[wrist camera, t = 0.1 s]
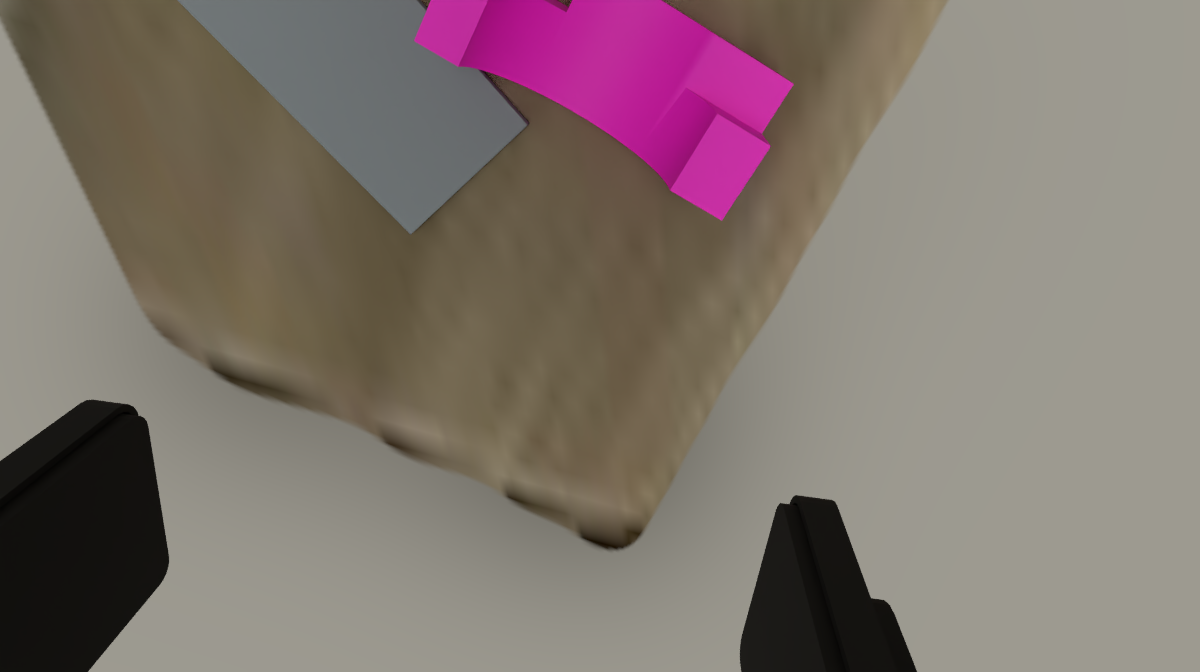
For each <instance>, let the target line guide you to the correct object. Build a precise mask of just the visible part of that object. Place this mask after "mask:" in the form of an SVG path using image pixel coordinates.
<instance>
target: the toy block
mask: <svg viewBox="0 0 1200 672" xmlns="http://www.w3.org/2000/svg"><path fill="white" fill-rule="evenodd" d="M414 41H415V42H416V43H418V44H420V45H422V46H423V47H425V48H427V49H428V50H430V51H432V52H434V53H435V54H437V55H439V56H440V57H442V58H444V59H446V60H447V61H449V62H451V63H452V64H454V65H456V66H458V67H470V68H475V69H479V70H483V71H486V72H490V73H493V74H495V75H498V76H501V77H504V78H506V79H509V80H511V81H513V82H516V83H518V84H520V85H523V86H525V87H527V88H529V89H531V90H533V91H535V92H537V93H540V94H542V95H544V96H545V97H547V98H549V99H551V100H553V101H555V102H557V103H559V104H561V105H562V106H564V107H566V108H568V109H570V110H571V111H573V112H575V113H576V114H578V115H580V116H582V117H583V118H585V119H586V120H588V121H590V122H591V123H593V124H594V125H596V126H598V127H599V128H601V129H602V130H604V131H605V132H607V133H608V134H610V135H611V136H613V137H614V138H615V139H617V140H618V141H620V142H621V143H622V144H624V145H625V146H626V147H628V148H629V149H630V150H632V151H633V152H634V153H636V154H637V155H638V156H639V157H640V158H642V159H643V160H644V161H645V162H646V163H647V164H649V165H650V166H651V167H652V168H653V169H654V170H655V171H656V172H657V173H658V174H659V175H660V176H661V178H662V179H663V180H664V181H665V183H666V184H667V185H668V187H669V189H670V191H672V192H674V193H675V194H677V195H679V196H681V197H682V198H684V199H686V200H687V201H689V202H691V203H693V204H694V205H696V206H698V207H700V208H701V209H703V210H705V211H706V212H708V213H710V214H712V215H713V216H715V217H717V218H718V219H720V220H722V219H723V218H724V216H725V215H726V213H727V212H728V210H729V209H730V207H731V206H732V204H733V203H734V201H735V200H736V198H737V197H738V195H739V194H740V192H741V191H742V189H743V188H744V186H745V185H746V183H747V182H748V180H749V179H750V177H751V176H752V174H753V173H754V171H755V170H756V168H757V167H758V165H759V163H760V162H761V160H762V159H763V157H764V156H765V154H766V153H767V151H768V150H769V148H770V147H771V146H770V144H769V143H768V142H767V140H766V139H765V138H764V136H763V135H762V132H763V131H764V129H765V128H766V126H767V125H768V123H769V121H770V120H771V118H772V117H773V115H774V114H775V112H776V111H777V109H778V108H779V106H780V105H781V103H782V101H783V100H784V98H785V97H786V95H787V94H788V92H789V91H790V89H791V88H792V86H793V85H794V84H793V83H792V82H790V81H789V80H787V79H786V78H784V77H783V76H781V75H780V74H778V73H777V72H775V71H774V70H772V69H770V68H769V67H767V66H766V65H764V64H762V63H761V62H759V61H758V60H756V59H754V58H753V57H751V56H750V55H748V54H746V53H745V52H743V51H742V50H740V49H739V48H737V47H735V46H734V45H732V44H731V43H729V42H727V41H726V40H724V39H723V38H721V37H719V36H718V35H716V34H715V33H713V32H711V31H710V30H708V29H707V28H705V27H704V26H702V25H700V24H699V23H697V22H696V21H694V20H692V19H691V18H689V17H688V16H686V15H684V14H683V13H681V12H680V11H678V10H676V9H675V8H673V7H672V6H670V5H668V4H667V3H665V2H664V1H662V0H572V2H571V4H570V6H569V7H567V6H566V5H564V4H562V3H561V2H559V1H557V0H431V1H430V4H429V6H428V8H427V11H426V13H425V16H424V18H423V20H422V23H421V25H420V27H419V30H418V32H417V35H416V37H415V39H414Z"/></svg>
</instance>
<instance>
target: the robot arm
mask: <svg viewBox="0 0 1200 672" xmlns="http://www.w3.org/2000/svg"><path fill="white" fill-rule="evenodd" d="M168 564H169V554H168V548H167V542H166V535H165V529H164V523H163V517H162V510H161V504H160V498H159V491H158V485H157V479H156V472H155V466H154V460H153V454H152V447H151V442H150V435H149V428H148V424H147V421H146V420H145V419H144V418H143V417H141V416H138V412H137V411H136V409H135V408H134V407H133V406H131V405H128V404H121V403H113V402H106V401H98V400H86V401H84V402H83V403H80V404H79V405H77V406H76V407H75V408H73V409H72V410H71V411H69V412H68V413H67V414H65V415H64V416H62V417H61V418H59V419H58V420H57V421H55V422H54V423H52V424H51V425H50V426H48V427H47V428H46V429H44V430H43V431H41V432H40V433H39V434H37V435H36V436H34V437H33V438H32V439H30V440H29V441H27V442H26V443H25V444H23V445H22V446H21V447H19V448H18V449H16V450H15V451H14V452H12V453H11V454H9V455H8V456H7V457H5V458H4V459H3V460H1V461H0V672H88V671H89V670H90V668H91V667H92V666H93V665H94V664H95V662H96V661H97V660H98V659H99V657H100V656H101V655H102V654H103V653H104V651H105V650H106V649H107V648H108V647H109V645H110V644H111V643H112V642H113V641H114V639H115V638H116V637H117V636H118V635H119V633H120V632H121V631H122V630H123V629H124V627H125V626H126V625H127V624H128V623H129V621H130V620H131V619H132V617H134V615H135V614H136V613H137V612H138V610H139V609H140V608H141V607H142V606H143V604H144V603H145V602H146V601H147V599H148V598H149V597H150V596H151V595H152V594H153V592H154V591H155V590H156V589H157V587H158V586H159V585H160V584H161V582H162V581H163V579H164V577H165V575H166V572H167V569H168ZM740 664H741V671H742V672H917V671H916V668H915V665H914V663H913V660H912V658H911V655H910V653H909V650H908V648H907V645H906V642H905V640H904V637H903V635H902V633H901V630H900V627H899V625H898V622H897V619H896V617H895V614H894V612H893V611H892V609H891V607H890V605H889V604H888V603H887V602H885V601H884V600H879V599H872V598H871V597H870V595H869V592H868V589H867V586H866V584H865V581H864V578H863V575H862V573H861V570H860V567H859V564H858V562H857V559H856V556H855V553H854V551H853V548H852V545H851V542H850V540H849V537H848V534H847V532H846V529H845V526H844V523H843V521H842V518H841V515H840V512H839V509H838V507H837V505H836V503H835V502H834V501H833V500H827V499H820V498H812V497H804V496H797V495H796V496H794V497H793V498H792V500H791V502H790V504H782V503H780V504H779V505H778V507H777V509H776V512H775V516H774V520H773V523H772V527H771V531H770V534H769V538H768V542H767V545H766V549H765V553H764V556H763V560H762V564H761V568H760V571H759V575H758V578H757V582H756V586H755V590H754V593H753V597H752V601H751V604H750V608H749V612H748V615H747V619H746V623H745V626H744V630H743V634H742V639H741V645H740Z"/></svg>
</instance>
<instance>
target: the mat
mask: <svg viewBox="0 0 1200 672" xmlns="http://www.w3.org/2000/svg"><path fill="white" fill-rule="evenodd" d="M178 1H179V2H180V3H181V4H182V5H183V6H184V7H185V8H186V9H187V10H188V11H189V12H190V13H191V14H192V15H193V16H194V17H195V18H196V19H197V20H198V21H199V22H200V23H201V24H202V25H203V26H204V27H205V28H206V29H207V30H208V31H209V32H210V33H211V34H212V35H213V36H214V37H215V38H216V39H217V40H218V41H219V43H220V44H221V45H222V46H223V47H224V48H225V49H226V50H227V51H228V52H229V53H230V54H231V55H232V56H233V57H234V58H235V59H236V60H237V61H238V62H239V63H240V64H241V65H242V66H243V67H244V68H245V69H246V70H247V71H248V72H249V73H250V74H251V75H252V76H253V77H254V78H255V79H256V80H257V81H258V82H259V83H260V84H261V85H262V86H263V87H264V88H265V89H266V90H267V91H268V92H269V93H270V94H271V95H272V96H273V97H274V98H275V99H276V100H277V101H278V102H279V103H280V104H281V105H282V106H283V107H284V108H285V109H286V110H287V111H288V112H289V113H290V114H291V115H292V116H293V117H294V118H295V119H296V120H297V121H298V122H299V123H300V124H301V125H302V126H303V127H304V128H305V129H306V130H307V131H308V132H309V133H310V134H311V135H312V136H313V137H314V138H315V139H316V140H317V141H318V142H319V143H320V144H321V145H322V146H323V147H324V148H325V149H326V150H327V151H328V152H329V153H330V154H331V155H332V156H333V157H334V158H335V159H336V160H337V161H338V162H339V163H340V164H341V165H342V166H343V167H344V168H345V169H346V170H347V171H348V172H349V173H350V174H351V175H352V176H353V177H354V178H355V179H356V180H357V181H358V182H359V183H360V184H361V185H362V186H363V187H364V188H365V189H366V190H367V191H368V192H369V193H370V194H371V195H372V196H373V197H374V198H375V199H376V200H377V201H378V202H379V203H380V204H381V205H382V206H383V207H384V208H385V209H386V210H387V211H388V212H389V213H390V214H391V215H392V216H393V217H394V218H395V219H396V220H397V221H398V222H399V223H400V224H401V225H402V226H403V227H404V228H405V229H406V230H407V231H408V232H409V233H410V234H412V233H413V232H414V231H415V230H416V229H417V228H418V227H419V226H420V225H421V224H423V223H424V222H425V221H426V220H427V219H428V218H429V217H430V216H431V215H432V214H433V213H434V212H435V211H436V210H437V209H439V208H440V207H441V206H442V205H443V204H444V203H445V202H446V201H447V200H448V199H449V198H450V197H451V196H452V195H453V194H455V193H456V192H457V191H458V190H459V189H460V188H461V187H462V186H463V185H464V184H465V183H466V182H467V181H468V180H469V179H471V178H472V177H473V176H474V175H475V174H476V173H477V172H478V171H479V170H480V169H481V168H482V167H483V166H484V165H485V164H487V163H488V162H489V161H490V160H491V159H492V158H493V157H494V156H495V155H496V154H497V153H498V152H499V151H500V150H502V149H503V148H504V147H505V146H506V145H507V144H508V143H509V142H510V141H511V140H512V139H513V138H514V137H515V136H516V135H518V134H519V133H520V132H521V131H522V130H523V129H524V128H525V127H526V126H527V125H528V124H529V122H528V121H527V120H526V119H525V118H524V117H523V116H522V114H521V113H520V112H519V111H518V110H517V109H516V108H515V107H514V105H513V104H512V103H511V102H510V101H509V100H508V99H507V97H506V96H505V95H504V94H503V93H502V92H501V91H500V90H499V88H498V87H497V86H496V85H495V84H494V83H493V82H492V81H491V79H490V78H489V77H488V76H487V75H486V74H485V73H484V72H483V70H479V69H475V68H470V67H458V66H456V65H454V64H452V63H451V62H449V61H447V60H446V59H444V58H442V57H440V56H439V55H437V54H435V53H434V52H432V51H430V50H428V49H427V48H425V47H423V46H422V45H420V44H418V43H416V42H415V41H414V39H415V37H416V35H417V32H418V30H419V27H420V25H421V23H422V20H423V18H424V16H425V13H426V11H427V7H426V6H425V5H424V4H423V3H422V2H421V0H178Z"/></svg>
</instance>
